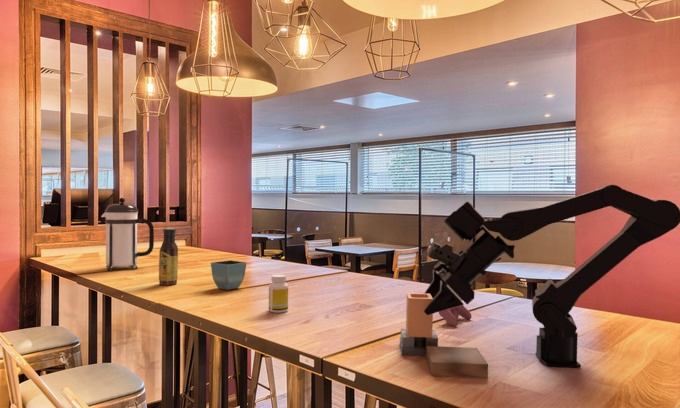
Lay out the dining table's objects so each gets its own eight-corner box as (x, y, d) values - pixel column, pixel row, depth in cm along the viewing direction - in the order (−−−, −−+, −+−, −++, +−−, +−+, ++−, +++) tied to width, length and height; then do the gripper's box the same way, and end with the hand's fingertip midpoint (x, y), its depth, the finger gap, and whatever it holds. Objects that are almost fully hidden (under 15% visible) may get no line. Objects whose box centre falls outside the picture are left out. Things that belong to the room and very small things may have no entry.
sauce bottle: (156, 283, 166) (156, 228, 165) (173, 281, 170) (173, 227, 169) (163, 286, 161) (163, 229, 160) (180, 284, 165) (181, 228, 165)
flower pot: (229, 284, 166) (230, 259, 166) (247, 288, 161) (247, 262, 160) (209, 288, 159) (210, 262, 158) (227, 292, 154) (227, 265, 153)
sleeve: (429, 330, 101) (430, 293, 101) (432, 337, 96) (433, 298, 96) (406, 329, 101) (406, 293, 101) (407, 336, 96) (408, 298, 96)
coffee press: (123, 272, 188) (123, 198, 187) (93, 269, 193) (93, 197, 193) (154, 266, 204) (155, 198, 203) (126, 264, 209) (126, 197, 209)
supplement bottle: (292, 310, 130) (292, 275, 130) (276, 314, 126) (277, 278, 126) (279, 307, 134) (279, 273, 134) (264, 310, 130) (264, 275, 130)
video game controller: (459, 322, 126) (449, 298, 128) (473, 318, 123) (463, 292, 125) (442, 330, 118) (431, 304, 120) (457, 325, 116) (446, 298, 117)
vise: (434, 345, 102) (435, 311, 102) (439, 356, 95) (439, 319, 95) (399, 343, 102) (400, 310, 102) (401, 354, 95) (402, 318, 95)
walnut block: (476, 360, 93) (477, 347, 93) (487, 377, 84) (488, 364, 84) (426, 358, 94) (426, 346, 94) (431, 375, 85) (431, 362, 85)
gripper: (444, 226, 107) (395, 272, 108) (459, 233, 88) (398, 288, 90) (478, 261, 107) (428, 307, 108) (500, 276, 88) (439, 331, 89)
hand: (423, 307), depth 99 cm, fingers open, 9 cm apart
